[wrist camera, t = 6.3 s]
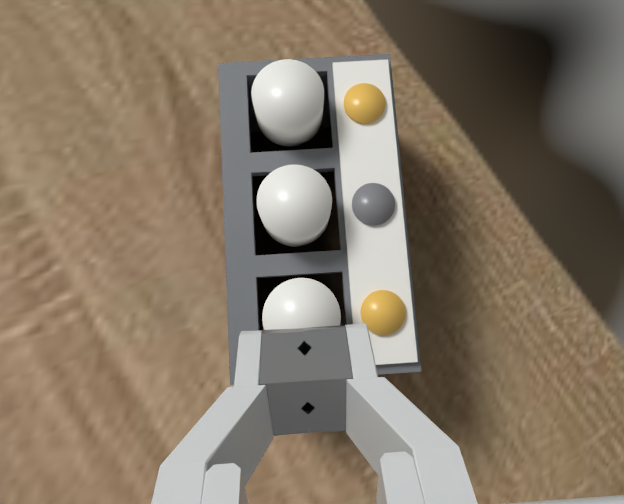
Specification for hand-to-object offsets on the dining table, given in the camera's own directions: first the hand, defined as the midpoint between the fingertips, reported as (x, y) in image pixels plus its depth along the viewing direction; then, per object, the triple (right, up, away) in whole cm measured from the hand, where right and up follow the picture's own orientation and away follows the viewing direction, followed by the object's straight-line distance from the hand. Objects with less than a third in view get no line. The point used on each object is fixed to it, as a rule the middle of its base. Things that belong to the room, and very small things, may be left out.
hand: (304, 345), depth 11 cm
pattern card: (+3, +5, +13) cm, 15 cm away
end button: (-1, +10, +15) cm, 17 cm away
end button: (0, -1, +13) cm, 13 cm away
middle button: (-1, +4, +14) cm, 14 cm away
